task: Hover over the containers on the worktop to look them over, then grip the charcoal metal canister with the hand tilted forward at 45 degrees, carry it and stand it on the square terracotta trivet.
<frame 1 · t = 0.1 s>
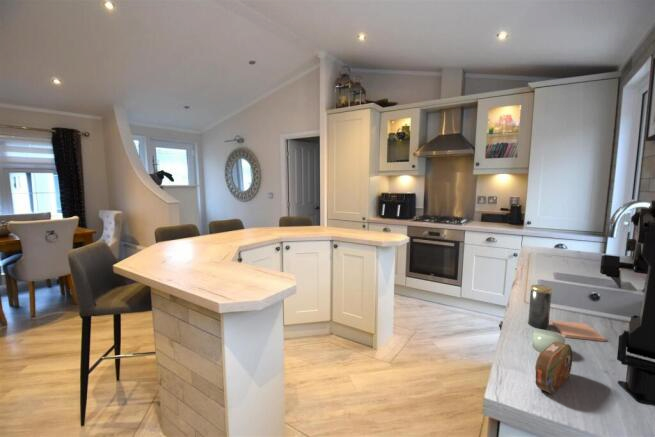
hand: (642, 290, 89), 15 cm above the countertop, tool tilted 35°, fingers open, 9 cm apart
tin: (552, 383, 71), on the countertop
canister: (538, 325, 100), on the countertop
trivet: (575, 331, 96), on the countertop
pale green rounded piece: (547, 349, 85), on the countertop
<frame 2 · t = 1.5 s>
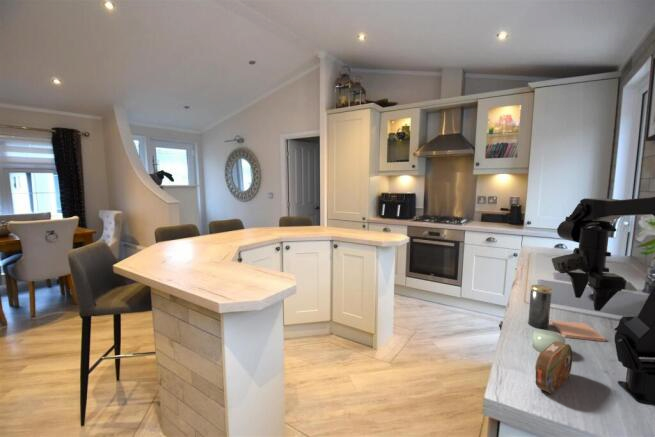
hand: (587, 303, 84), 13 cm above the countertop, tool pointing down, fingers open, 9 cm apart
nothing on the countertop moved.
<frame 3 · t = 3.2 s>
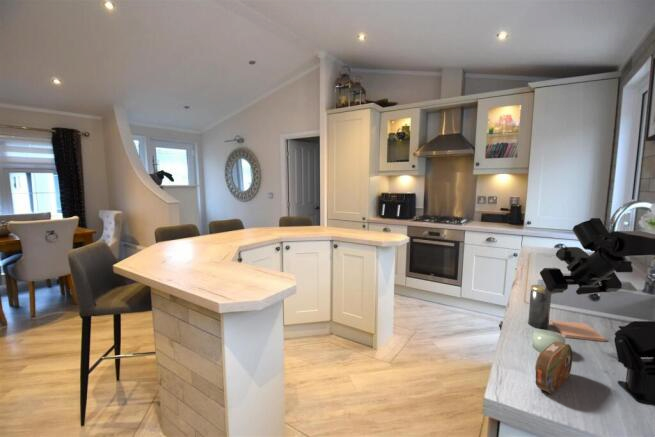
hand: (561, 293, 91), 13 cm above the countertop, tool tilted 45°, fingers open, 9 cm apart
nothing on the countertop moved.
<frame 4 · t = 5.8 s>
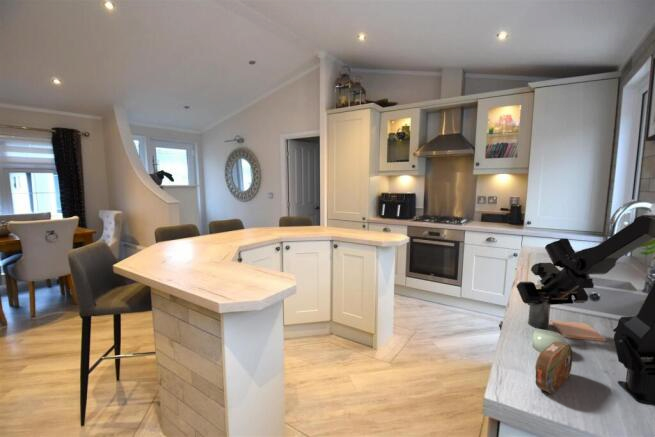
hand: (536, 303, 101), 7 cm above the countertop, tool tilted 45°, fingers closed on canister, 5 cm apart
canister: (538, 325, 100), on the countertop, touching gripper
everything else where it was.
when the fingers open (8 cm above the countertop, at t = 8.8 s): canister stays where it is, resting on trivet.
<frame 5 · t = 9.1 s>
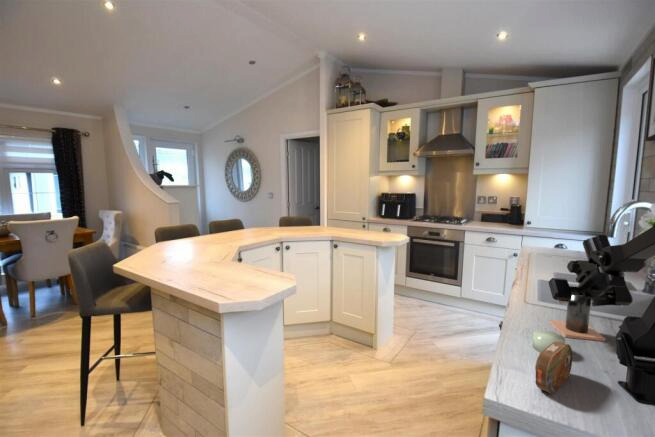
hand: (576, 303, 96), 8 cm above the countertop, tool tilted 45°, fingers open, 8 cm apart
canister: (576, 329, 96), point 1 cm above the countertop, touching trivet
everything else where it was.
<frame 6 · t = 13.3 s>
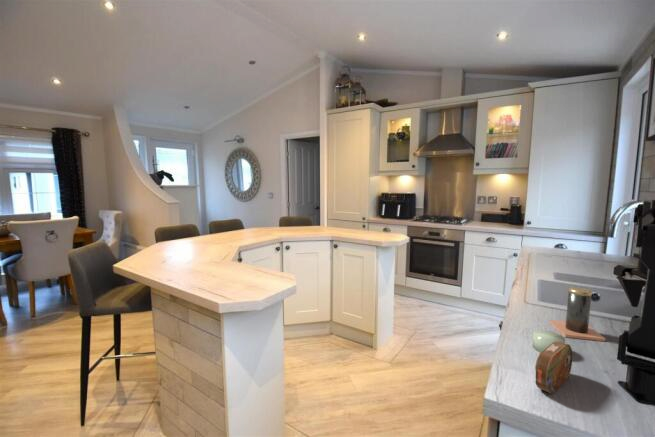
hand: (647, 313, 77), 13 cm above the countertop, tool pointing down, fingers open, 9 cm apart
nothing on the countertop moved.
at the end: canister inside the target area on the trivet (0.1 cm from its centre), point 0.8 cm above the trivet's base; canister tilted 0°; the gripper is holding nothing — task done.
